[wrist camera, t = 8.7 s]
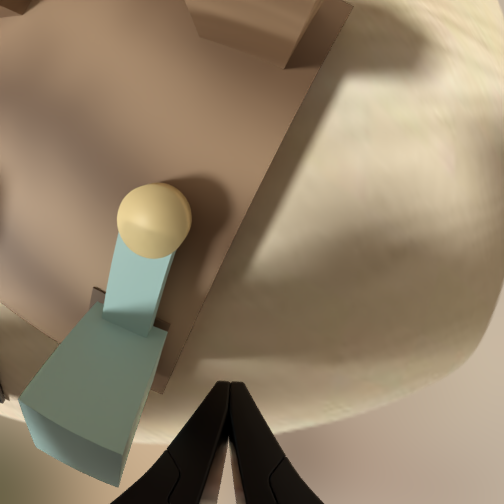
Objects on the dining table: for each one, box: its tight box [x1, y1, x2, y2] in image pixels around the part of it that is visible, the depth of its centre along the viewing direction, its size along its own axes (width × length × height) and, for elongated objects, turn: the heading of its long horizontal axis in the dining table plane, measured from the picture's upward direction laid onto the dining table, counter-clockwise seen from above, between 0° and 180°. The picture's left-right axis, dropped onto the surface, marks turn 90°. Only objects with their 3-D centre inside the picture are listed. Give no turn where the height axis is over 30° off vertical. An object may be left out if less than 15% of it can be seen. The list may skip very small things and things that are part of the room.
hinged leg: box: [18, 183, 192, 487], centre depth 7 cm, size 8×3×6 cm, turn 157°
